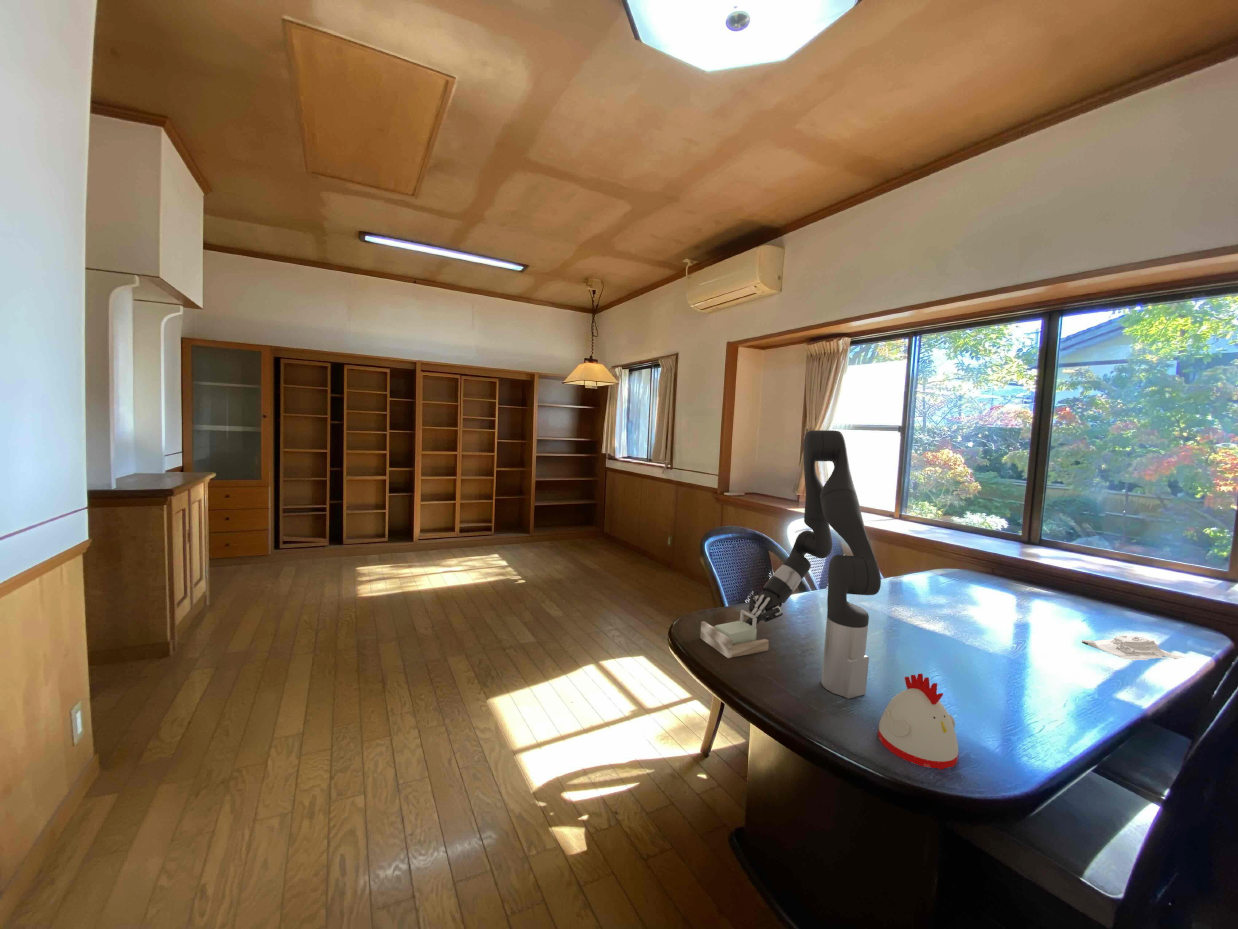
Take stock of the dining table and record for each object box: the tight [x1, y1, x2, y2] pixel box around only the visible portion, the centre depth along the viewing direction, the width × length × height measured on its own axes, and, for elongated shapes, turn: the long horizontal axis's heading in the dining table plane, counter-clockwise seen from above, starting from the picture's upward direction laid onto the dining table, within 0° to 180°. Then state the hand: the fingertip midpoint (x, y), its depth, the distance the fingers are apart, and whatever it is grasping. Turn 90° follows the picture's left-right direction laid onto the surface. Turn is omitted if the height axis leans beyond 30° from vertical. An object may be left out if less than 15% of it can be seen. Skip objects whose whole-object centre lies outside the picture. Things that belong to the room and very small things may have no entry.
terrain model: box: [1081, 635, 1186, 662], centre depth 154 cm, size 17×23×5 cm
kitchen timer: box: [877, 673, 959, 770], centre depth 99 cm, size 14×14×15 cm
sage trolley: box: [714, 609, 758, 645], centre depth 141 cm, size 8×10×10 cm
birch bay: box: [699, 620, 770, 659], centre depth 143 cm, size 13×14×5 cm
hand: (748, 627), depth 145 cm, fingers closed
